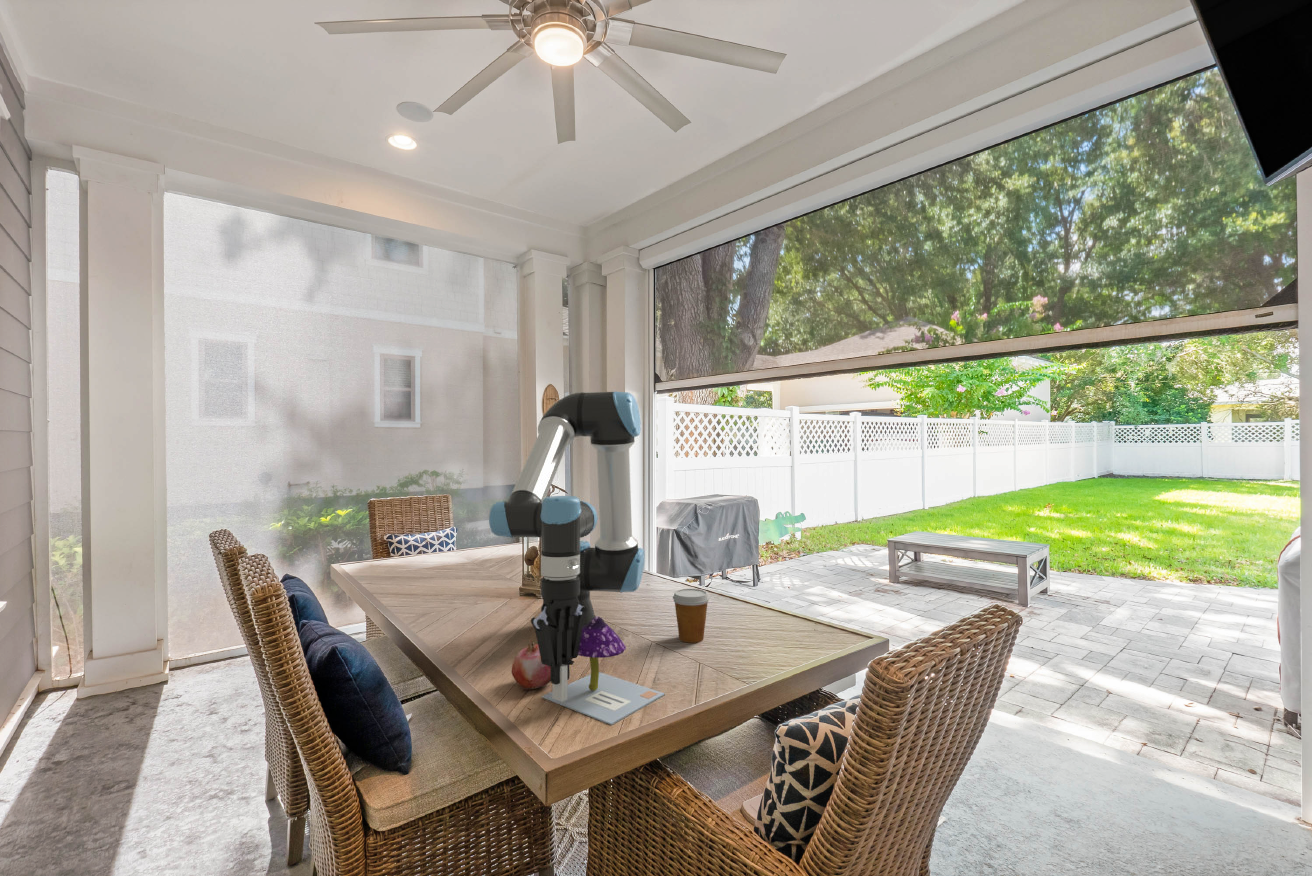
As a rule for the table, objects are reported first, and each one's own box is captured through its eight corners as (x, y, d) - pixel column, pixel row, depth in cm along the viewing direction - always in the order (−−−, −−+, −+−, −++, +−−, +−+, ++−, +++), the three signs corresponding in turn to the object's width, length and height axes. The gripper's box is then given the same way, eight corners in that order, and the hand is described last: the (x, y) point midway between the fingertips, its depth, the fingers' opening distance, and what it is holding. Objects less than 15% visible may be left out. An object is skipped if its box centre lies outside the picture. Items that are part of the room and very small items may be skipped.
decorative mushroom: (577, 676, 130) (582, 607, 131) (631, 685, 127) (635, 614, 128) (551, 695, 118) (556, 619, 119) (610, 706, 115) (615, 627, 116)
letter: (542, 697, 120) (542, 695, 120) (597, 672, 133) (597, 670, 133) (611, 725, 108) (611, 722, 108) (664, 694, 121) (664, 692, 121)
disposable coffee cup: (707, 646, 149) (707, 598, 149) (670, 643, 151) (669, 596, 151) (711, 633, 158) (711, 588, 158) (676, 631, 160) (676, 587, 160)
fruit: (539, 673, 133) (539, 628, 133) (564, 685, 126) (564, 638, 126) (503, 685, 126) (502, 638, 126) (527, 699, 120) (527, 649, 120)
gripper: (548, 584, 108) (547, 715, 108) (597, 573, 118) (597, 693, 118) (521, 579, 113) (520, 704, 112) (571, 568, 123) (570, 683, 122)
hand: (559, 698), depth 115 cm, fingers closed
